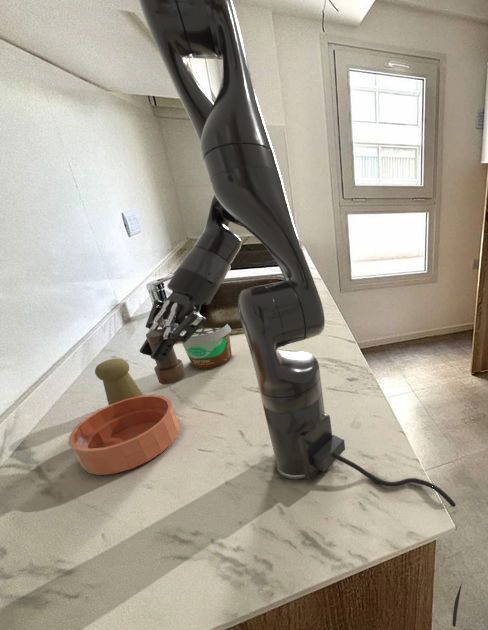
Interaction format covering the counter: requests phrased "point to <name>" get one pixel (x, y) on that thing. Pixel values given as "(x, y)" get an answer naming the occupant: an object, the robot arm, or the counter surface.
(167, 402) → the bowl
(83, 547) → the counter surface
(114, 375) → the olive knobbed tapered cylinder
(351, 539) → the counter surface
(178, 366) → the pestle
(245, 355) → the counter surface
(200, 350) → the food container
